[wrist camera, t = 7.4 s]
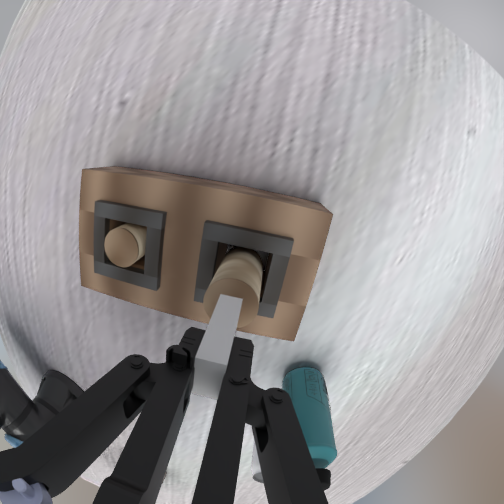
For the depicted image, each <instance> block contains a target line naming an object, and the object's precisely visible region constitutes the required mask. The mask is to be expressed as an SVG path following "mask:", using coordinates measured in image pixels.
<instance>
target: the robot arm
mask: <svg viewBox="0 0 504 504" xmlns="http://www.w3.org/2000/svg"><path fill="white" fill-rule="evenodd" d="M242 301H243V299H241V298H236V297H232V296H227V295H223V294H220V297H219V299H218V302H217V304H216V307H215V309H214V312H213V314H212V317H211V319H210V321H209V324H208V326H207V329H206V330H202V329H198V328H194V327H191V328H189V329H188V330H186V332H185V334H184V336H183V337H182V339H181V342H180V343H179V345H173V346H171V347H169V348H168V349H167V350H166V363H160V364H156V363H150V362H149V361H148V359H147V358H146V357H144V356H142V355H136V354H134V355H130V356H128V357H126V358H125V359H124V360H122V361H121V362H120V363H119V364H118V365H116V366H115V367H114V368H113V369H112V370H110V371H109V372H108V373H107V374H105V375H104V376H103V377H102V378H101V379H99V380H98V381H97V382H96V383H95V384H93V385H92V386H91V387H90V388H88V389H87V390H86V391H85V392H83V391H82V390H81V389H80V388H79V387H78V386H77V385H76V384H75V383H74V382H73V381H72V380H70V379H69V378H68V377H66V376H65V375H63V374H61V373H59V372H57V371H54V370H50V371H48V372H47V373H46V374H45V375H44V376H43V378H42V381H41V384H40V387H39V390H38V393H37V396H36V397H35V398H34V399H33V401H32V400H31V399H30V398H29V397H28V395H27V394H26V393H25V392H24V391H23V389H22V388H21V387H20V386H19V384H18V383H17V382H16V380H15V379H14V378H13V377H12V375H11V374H10V372H9V371H8V370H7V367H5V366H4V364H3V363H2V362H1V361H0V429H1V428H2V429H3V430H4V431H5V432H6V434H5V440H6V441H8V442H9V443H10V445H12V446H13V447H14V448H12V449H8V450H5V451H1V452H0V500H1V502H2V504H52V499H51V498H53V497H55V496H57V495H59V494H60V493H62V492H63V491H64V490H66V489H67V488H68V487H69V486H70V485H71V484H72V483H73V482H74V481H75V480H76V479H77V478H78V477H79V476H80V475H81V474H82V473H83V472H84V471H85V470H86V469H87V468H88V467H89V466H90V465H91V464H92V463H93V462H94V461H95V460H96V459H97V458H98V457H99V456H100V455H101V454H102V453H103V452H104V450H105V449H106V448H107V447H108V446H109V445H110V444H111V443H112V442H113V441H114V440H115V439H116V438H117V437H118V436H119V435H120V434H121V433H122V432H123V430H124V429H125V428H126V427H127V426H128V425H129V424H130V423H131V422H132V421H133V420H134V419H135V418H136V417H137V415H138V414H139V413H140V412H141V411H142V412H141V414H140V416H139V418H138V420H137V422H136V424H135V426H134V428H133V430H132V432H131V434H130V436H129V439H128V441H127V443H126V445H125V447H124V449H123V451H122V453H121V455H120V458H119V460H118V462H117V464H116V466H115V468H114V471H113V473H112V474H111V476H110V477H107V478H105V479H104V481H103V482H102V484H101V486H100V488H99V490H98V493H97V495H96V497H95V499H94V501H93V504H155V502H156V499H157V496H158V493H159V490H160V487H161V484H162V481H163V478H164V475H165V472H166V469H167V466H168V463H169V460H170V457H171V454H172V451H173V448H174V445H175V442H176V439H177V436H178V433H179V430H180V427H181V424H182V421H183V419H184V416H185V413H186V410H187V407H188V404H189V400H190V394H191V391H192V394H195V395H199V396H203V397H207V398H211V399H215V400H217V404H216V408H215V412H214V416H213V420H212V424H211V428H210V432H209V436H208V440H207V444H206V448H205V452H204V456H203V460H202V464H201V468H200V472H199V476H198V480H197V484H196V488H195V492H194V496H193V500H192V504H233V503H234V496H235V490H236V483H237V476H238V470H239V463H240V456H241V449H242V442H243V435H244V427H245V423H247V424H249V425H252V430H253V435H254V440H255V445H256V449H257V454H258V459H259V463H260V468H261V473H262V477H263V481H264V486H265V490H266V495H267V499H268V503H269V504H328V501H327V499H326V496H325V493H324V490H323V488H322V485H321V482H320V479H319V477H318V474H317V471H316V468H315V465H314V463H313V460H312V457H311V454H310V452H309V449H308V446H307V443H306V440H305V437H304V435H303V432H302V429H301V426H300V423H299V420H298V418H297V415H296V412H295V409H294V406H293V403H292V400H291V398H290V396H289V394H288V393H287V392H286V391H285V390H282V389H280V388H269V389H267V390H263V389H261V388H259V387H257V386H256V385H255V384H254V383H253V382H252V381H251V378H250V373H251V365H252V357H253V350H254V345H253V343H252V341H251V340H248V339H243V338H239V337H235V333H236V329H237V324H238V320H239V315H240V310H241V305H242Z"/></svg>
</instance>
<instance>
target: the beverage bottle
mask: <svg viewBox="0 0 504 504" xmlns="http://www.w3.org/2000/svg"><path fill="white" fill-rule="evenodd" d="M324 380H325V379H324V378H323V376H322V374H321V373H320V372H319V371H318V370H316V369H314V368H310V367H301V368H297V369H294V370H292V371H290V372H289V373H288V374H287V375H286V376H285V378H284V379H283V383H282V389H283V390H285V391H286V392H287V393H288V394H289V396H290V398H291V400H292V403H293V406H294V409H295V412H296V415H297V418H298V420H299V423H300V426H301V429H302V432H303V435H304V437H305V440H306V443H307V446H308V449H309V452H310V454H311V457H312V460H313V463H314V465H315V468H316V471H317V474H318V477H319V479H320V482H321V485H322V488H323V490H326V489H328V488H329V487H330V478H331V472H330V471H329V470H328V469H324V468H326V467H327V466H328V465H329V464H330V463H332V462H333V460H334V459H335V458H336V456H337V450H336V446H335V440H334V434H333V428H332V420H331V414H330V413H331V412H330V410H331V407H330V409H329V406H330V404H329V403H328V402H329V398H327V396H328V393H327V388H326V383H325V381H324Z"/></svg>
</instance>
